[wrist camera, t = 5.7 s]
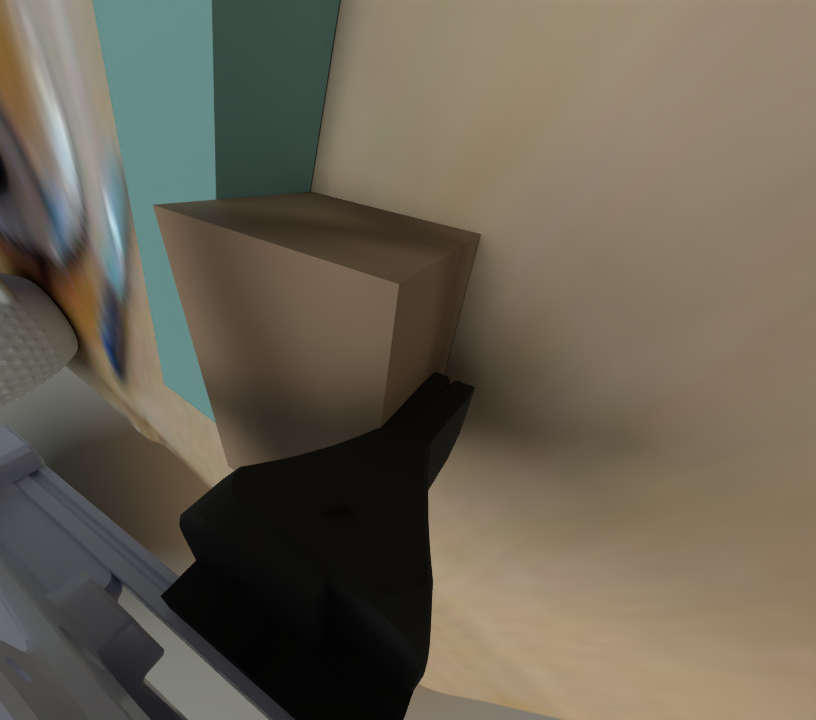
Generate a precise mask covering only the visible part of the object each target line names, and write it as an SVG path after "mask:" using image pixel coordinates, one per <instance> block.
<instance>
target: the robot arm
mask: <svg viewBox="0 0 816 720" xmlns="http://www.w3.org/2000/svg"><path fill="white" fill-rule="evenodd" d="M449 383H450V380H449V378H448V376H445V375H443V374H440V373H438V372H434V373H433V374H432V375H431V376H430V377H428V378H427V379H426V380H425V381H424V382H423V383H422V384H421V385H420V386H419V387H418V389H417V390H416V391H415V392H414V393H413V394H412V395H411V396H410V397H409V398H408V399H407V400H406V401H405V402H404V404H403V405H402V406H401V407H400V408H399V409H398V410H397V411H396V412H395V413H394V414H393V415H392V417H391V418H390V419H389V420H388V421H387V422H386V423H385V424H384V425H383V426H382V427H381V428H378V429H374V430H372V431H370V432H367V433H365V434H363V435H360V436H357V437H355V438H352V439H349V440H347V441H344V442H341V443H338V444H335V445H332V446H329V447H326V448H322V449H318V450H315V451H311V452H308V453H304V454H301V455H297V456H293V457H289V458H284V459H279V460H274V461H269V462H264V463H258V464H253V465H248V466H241V467H239V468H238V469H236V470H235V471H234V472H232V473H231V474H229V475H228V476H227V477H225V478H224V479H223V480H221V481H220V482H219V483H218V484H217V485H215V486H214V487H213V488H212V489H211V490H209V491H208V492H207V493H206V494H205V495H204V496H202V497H201V498H200V499H199V500H198V501H197V502H195V503H194V504H193V505H192V506H191V507H190V508H188V509H187V510H186V511H185V512H183V513H182V514H181V516H180V528H181V531H182V533H183V535H184V537H185V539H186V541H187V543H188V545H189V547H190V549H191V551H192V553H193V555H194V557H195V558H196V561H195V562H194V563H193V564H192V565H191V566H190V567H189V568H188V569H187V570H186V571H185V572H184V573H183V574H182V575H181V576H180V577H179V576H178V575H177V574H175V573H174V572H173V571H172V570H171V569H169V568H168V567H167V566H166V565H165V564H163V563H162V562H161V561H160V560H159V559H157V558H156V557H155V556H154V555H153V554H151V553H150V552H149V551H148V550H147V549H145V548H144V547H143V546H142V545H141V544H139V543H138V542H137V541H136V540H135V539H133V538H132V537H131V536H130V535H129V534H127V533H126V532H125V531H124V530H122V529H121V528H120V527H119V526H118V525H117V524H115V523H114V522H113V521H112V520H111V519H109V518H108V517H107V516H106V515H105V514H103V513H102V512H101V511H100V510H98V509H97V508H96V507H95V506H94V505H92V504H91V503H90V502H89V501H88V500H87V499H85V498H84V497H83V496H82V495H81V494H79V493H78V492H77V491H76V490H74V489H73V488H72V487H71V486H70V485H68V484H67V483H66V482H65V481H64V480H62V479H61V478H60V477H59V476H58V475H57V474H55V473H54V472H53V471H52V470H50V469H49V468H48V467H47V466H46V465H44V464H45V462H44V461H43V459H42V458H41V457H40V455H39V454H38V453H37V452H36V451H35V449H34V448H33V447H32V446H31V445H30V444H29V443H28V442H27V441H26V440H24V439H23V438H22V437H21V436H20V435H18V434H17V433H16V432H15V431H13V430H12V429H11V428H10V427H8V426H7V425H0V720H187V718H186V717H185V716H183V714H182V713H180V712H179V711H178V710H177V709H176V708H175V707H174V706H173V705H172V704H171V703H170V702H169V701H168V700H167V699H166V698H165V697H164V696H163V695H162V694H161V693H160V692H159V691H158V690H157V689H156V688H155V687H154V686H153V685H152V684H151V683H150V682H149V681H148V680H147V679H146V678H145V676H146V674H147V673H148V672H149V671H150V669H151V668H152V667H153V666H154V665H155V664H156V663H157V662H158V661H159V659H160V658H161V657H162V656H163V654H164V649H163V648H162V647H161V646H160V645H159V644H158V643H157V642H156V641H155V640H154V639H153V638H152V637H151V636H150V635H149V634H148V633H147V632H146V631H145V630H144V629H143V628H142V627H141V626H140V625H139V624H138V623H137V622H136V620H135V619H134V618H133V617H132V616H131V615H130V614H129V613H128V612H127V611H125V609H123V607H122V606H120V605H119V604H118V598H119V596H120V594H121V592H122V585H123V586H124V587H125V588H126V589H127V590H128V591H129V592H130V593H131V594H132V595H134V596H135V597H136V598H137V599H138V600H139V601H140V602H141V603H142V604H143V605H144V606H145V607H147V608H148V609H149V610H150V611H151V612H152V613H153V614H155V616H156V617H157V618H159V619H160V620H161V621H162V622H163V623H164V624H165V625H166V626H167V627H168V628H170V629H171V630H172V631H173V632H174V633H175V634H176V635H177V636H178V637H179V638H180V639H182V640H183V641H184V642H185V643H186V644H187V645H188V646H189V647H190V648H191V649H192V650H194V651H195V652H196V653H197V654H198V655H199V656H200V657H201V658H202V659H203V660H204V661H205V662H207V663H208V664H209V665H210V666H211V667H212V668H213V669H214V670H215V671H216V672H217V673H219V674H220V675H221V676H222V677H223V678H224V679H225V680H226V681H227V682H228V683H229V684H231V685H232V686H233V687H234V688H235V689H236V690H237V691H238V692H239V693H241V694H242V695H243V696H244V697H245V698H246V699H247V700H248V701H249V702H250V703H251V704H252V705H254V706H255V707H256V708H257V709H258V710H259V711H260V712H261V713H262V714H263V715H264V716H265V717H267V718H268V719H269V720H403V719H404V717H405V714H406V711H407V708H408V705H409V702H410V699H411V696H412V694H413V691H414V689H415V688H416V686H417V684H418V683H419V682H420V680H421V679H422V677H423V675H424V672H425V669H426V665H427V660H428V655H429V646H430V632H431V611H432V590H433V577H432V567H431V555H430V542H429V523H428V490H429V488H430V486H431V485H432V483H433V482H434V480H435V478H436V477H437V475H438V473H439V472H440V470H441V468H442V467H443V465H444V464H445V462H446V460H447V459H448V457H449V455H450V452H451V450H452V448H453V446H454V444H455V442H456V440H457V437H458V435H459V433H460V430H461V427H462V425H463V422H464V419H465V416H466V413H467V410H468V407H469V404H470V401H471V398H472V395H473V392H474V389H475V387H472V386H470V385H467V384H465V383H462V382H460V381H454V382H452V383H451V384H450V385H449Z"/></svg>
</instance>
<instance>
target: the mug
mask: <svg viewBox="0 0 816 720" xmlns="http://www.w3.org/2000/svg"><path fill="white" fill-rule="evenodd" d="M77 350H78V341H77V337H76V335H75V333H74V331H73V329H72V327H71V325H70V324H69V322H68V320H67V319H66V317H65V316H64V314H63V313H62V312H61V310H60V309H59V308H58V307H57V305H56V304H55V303H54V302H53V300H52V299H51V298H50V297H49V296H48V295H47V294H46V293H45V292H44V291H43V290H42V289H41V288H40V287H39V286H37V285H36V284H35V283H33V282H32V281H30V280H28V279H25V278H22V277H18V276H13V275H8V274H3V273H0V408H2V407H3V406H5V405H7V404H10V403H12V402H14V401H15V400H16V399H18V398H21V397H22V396H24V395H25V394H26V393H28V392H31V391H33V390H34V389H35V388H36V387H38V386H40V385H41V384H43V383H44V382H45V381H47V380H49V379H51V378H52V377H53V376H54V375H55V374H57V373H58V372H60V370H61V369H62V368H63V367H64V366H65V365H66V364H67V363H68V362H69V361H70V360H71V359H72V358H73V356H74V355H75V354H76V352H77Z"/></svg>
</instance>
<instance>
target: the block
mask: <svg viewBox="0 0 816 720" xmlns="http://www.w3.org/2000/svg"><path fill="white" fill-rule="evenodd" d="M153 208H154V211H155V215H156V218H157V222H158V225H159V229H160V232H161V235H162V239H163V242H164V246H165V249H166V253H167V256H168V260H169V263H170V267H171V270H172V273H173V277H174V280H175V284H176V287H177V291H178V294H179V298H180V301H181V304H182V308H183V311H184V315H185V318H186V322H187V325H188V329H189V332H190V335H191V339H192V342H193V346H194V349H195V353H196V356H197V360H198V363H199V366H200V370H201V373H202V377H203V380H204V384H205V387H206V391H207V394H208V397H209V401H210V404H211V408H212V411H213V415H214V418H215V422H216V425H217V428H218V432H219V435H220V439H221V442H222V446H223V449H224V453H225V456H226V459H227V463H228V466H229V467H230V468H232V469H234V470H236V469H238V468H239V467H241V466H248V465H253V464H258V463H264V462H269V461H274V460H279V459H284V458H289V457H293V456H297V455H301V454H304V453H308V452H311V451H315V450H318V449H322V448H326V447H329V446H332V445H335V444H338V443H341V442H344V441H347V440H349V439H352V438H355V437H357V436H360V435H363V434H365V433H367V432H370V431H372V430H374V429H378V428H381V427H382V426H383V425H384V424H385V423H386V422H387V421H388V420H389V419H390V418H391V417H392V415H393V414H394V413H395V412H396V411H397V410H398V409H399V408H400V407H401V406H402V405H403V404H404V402H405V401H406V400H407V399H408V398H409V397H410V396H411V395H412V394H413V393H414V392H415V391H416V390H417V389H418V387H419V386H420V385H421V384H422V383H423V382H424V381H425V380H426V379H427V378H428V377H430V376H431V375H432V374H433V373H434V372H438V373H440V374H443V375H444V373H445V369H446V366H447V362H448V358H449V354H450V350H451V346H452V342H453V338H454V335H455V331H456V327H457V323H458V319H459V315H460V311H461V307H462V304H463V300H464V296H465V292H466V288H467V284H468V280H469V276H470V272H471V269H472V265H473V261H474V257H475V253H476V249H477V245H478V241H479V238H480V234H477V233H473V232H469V231H465V230H461V229H457V228H453V227H449V226H445V225H441V224H437V223H433V222H429V221H425V220H421V219H417V218H413V217H409V216H405V215H401V214H397V213H393V212H389V211H385V210H381V209H377V208H373V207H369V206H365V205H361V204H357V203H353V202H349V201H345V200H341V199H337V198H333V197H329V196H325V195H321V194H317V193H313V192H302V193H290V194H278V195H266V196H254V197H242V198H230V199H218V200H204V201H192V202H179V203H167V204H155V205H153Z"/></svg>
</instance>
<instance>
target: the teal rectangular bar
mask: <svg viewBox="0 0 816 720" xmlns="http://www.w3.org/2000/svg"><path fill="white" fill-rule="evenodd" d="M92 1H93V7H94V12H95V17H96V23H97V28H98V33H99V39H100V44H101V49H102V55H103V60H104V65H105V71H106V76H107V81H108V87H109V92H110V97H111V103H112V108H113V113H114V119H115V124H116V129H117V135H118V140H119V145H120V151H121V156H122V161H123V166H124V172H125V177H126V182H127V188H128V193H129V198H130V204H131V209H132V214H133V220H134V225H135V230H136V236H137V241H138V246H139V252H140V257H141V262H142V268H143V273H144V278H145V284H146V289H147V294H148V300H149V305H150V310H151V316H152V321H153V326H154V332H155V337H156V342H157V348H158V353H159V358H160V364H161V369H162V374H163V380H164V384H165V385H166V386H168V387H169V388H170V389H172V390H173V391H174V392H175V393H177V394H178V395H179V396H181V397H182V398H183V399H185V400H186V401H187V402H189V403H190V404H191V405H192V406H194V407H195V408H196V409H198V410H199V411H200V412H202V413H203V414H204V415H206V416H207V417H208V418H210V419H211V420H212V421H213V422H215V418H214V415H213V411H212V408H211V404H210V401H209V397H208V394H207V391H206V387H205V384H204V380H203V377H202V373H201V370H200V366H199V363H198V360H197V356H196V353H195V349H194V346H193V342H192V339H191V335H190V332H189V329H188V325H187V322H186V318H185V315H184V311H183V308H182V304H181V301H180V298H179V294H178V291H177V287H176V284H175V280H174V277H173V273H172V270H171V267H170V263H169V260H168V256H167V253H166V249H165V246H164V242H163V239H162V235H161V232H160V229H159V225H158V222H157V218H156V215H155V211H154V208H153V205H155V204H167V203H179V202H192V201H204V200H218V199H230V198H242V197H254V196H266V195H278V194H290V193H302V192H310V188H311V181H312V175H313V169H314V162H315V156H316V149H317V143H318V136H319V130H320V124H321V117H322V111H323V104H324V98H325V92H326V85H327V79H328V72H329V66H330V60H331V53H332V47H333V40H334V34H335V27H336V21H337V15H338V8H339V2H340V0H92ZM215 423H216V422H215Z"/></svg>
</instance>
